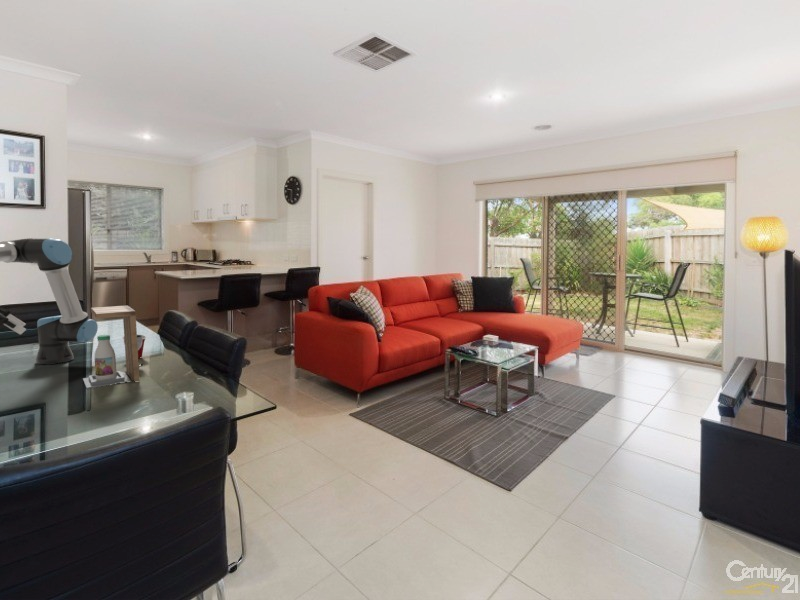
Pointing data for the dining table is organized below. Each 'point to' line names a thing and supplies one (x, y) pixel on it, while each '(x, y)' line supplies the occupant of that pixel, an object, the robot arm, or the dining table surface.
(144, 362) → the dining table surface
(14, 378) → the dining table surface
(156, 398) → the dining table surface
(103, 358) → the milk bottle
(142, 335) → the plastic cup
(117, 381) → the grey square tray
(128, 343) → the overhang shelf
